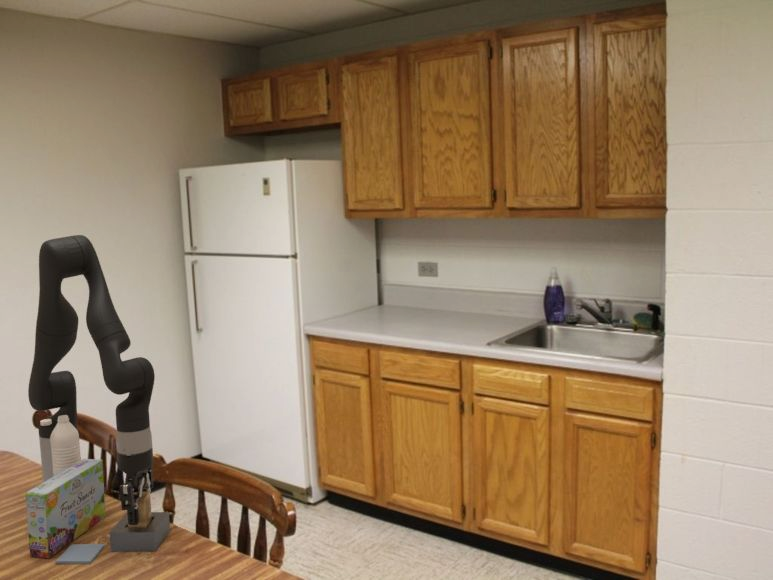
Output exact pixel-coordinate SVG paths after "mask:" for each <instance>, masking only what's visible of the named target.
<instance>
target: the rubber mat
mask: <svg viewBox="0 0 773 580" xmlns="http://www.w3.org/2000/svg"><path fill="white" fill-rule="evenodd" d="M105 547H106V544H105V543H98V544H97V543H92V544H91V543H88V544H87V543H80V544H77V543H73V544H70V546H69V547H67V549H66V550H65V551H64V552H63V553H62V554H61V555H60V556H59V557H58V558H57V559H56V561H55V565H91V564H92V563H93V562H94V560H95V559H96V558H97V556H98V555H99V554H100V553H101V552H102V551H103V550H104V548H105Z"/></svg>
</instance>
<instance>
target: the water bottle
mask: <svg viewBox="0 0 773 580" xmlns="http://www.w3.org/2000/svg"><path fill="white" fill-rule="evenodd" d="M57 421H58V423H57V425H56V426H55V428H54V430H53V431H52V433H51V436H50V442H51V452H52V462H53V463H52V464H53V474H54V476H55V475H57V474H59V473H60V472H62V471H64V470H65V469H67V468H69V467H71V466H72V465H74V464H76V463H78V462H79V461H81V460H82V459H81V458H82V457H81V449H80V448H81V447H80V434H79V431H77V429H78V428H77V429H76V428H75V427H74V426H73V425H72V424H71V423H70V422H69V418H68V415H61V416H59V417H58V420H57ZM39 422H40V423H39V425H41V426H46V425H50V424H52V420H51V419H48V418H44V419H41V420H40V421H39ZM49 423H50V424H49ZM42 424H46V425H42Z"/></svg>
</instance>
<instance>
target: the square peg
mask: <svg viewBox="0 0 773 580" xmlns="http://www.w3.org/2000/svg"><path fill="white" fill-rule="evenodd" d="M133 494H137V493H133ZM134 501H135V498H134ZM151 501H152V499H151V493H150V491H142V495H141V498H140V499H139V501H138V514H139V523H138V524H137V525H129V524H128V527H148V526H149V524H150V523H151V522H152V514H151V512H152V502H151ZM127 520H128V515H127Z"/></svg>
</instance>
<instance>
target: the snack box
mask: <svg viewBox="0 0 773 580" xmlns="http://www.w3.org/2000/svg"><path fill="white" fill-rule="evenodd" d="M103 462H104V461H103V459H93V458H83V459H81V461H79V462H78V463H76V464H74V465H72V466H71V467H69V468H67V469H65V470H64V471H62V472H60V473H59V474H57V475H55V476H54V477H52V478H50V479H48V480H47V481H45V482H43V481H42V483H40V484H38V485H36V486H35V487H33V488H31V489H29V490H28V491H26V492H25V502H26V503H25V505H26V516H27V517H26V518H27V520H26V521H27V532H28V533H27V534H28V546H29V557H33V558H34V557H35V558H41V559H51V558H52V557H53V556H55V555H56V554H57V553H59V552H60V551H61V550H62V549H64V548H65V547H67V546H68V545H70V544H71V543H72V542H73V541H75V540H76V539H78V538H79V537H80V536H82V535H83V534H85V533H86V532H87V531H89V530H90V529H91V528H93V527H94V526H96V524H98V523H99V522H101V521H102V520H103V519H105V518H106V498H105V486H104V485H105V481H104V463H103Z"/></svg>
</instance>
